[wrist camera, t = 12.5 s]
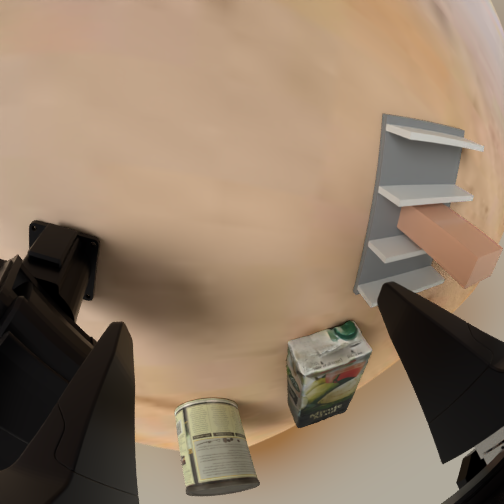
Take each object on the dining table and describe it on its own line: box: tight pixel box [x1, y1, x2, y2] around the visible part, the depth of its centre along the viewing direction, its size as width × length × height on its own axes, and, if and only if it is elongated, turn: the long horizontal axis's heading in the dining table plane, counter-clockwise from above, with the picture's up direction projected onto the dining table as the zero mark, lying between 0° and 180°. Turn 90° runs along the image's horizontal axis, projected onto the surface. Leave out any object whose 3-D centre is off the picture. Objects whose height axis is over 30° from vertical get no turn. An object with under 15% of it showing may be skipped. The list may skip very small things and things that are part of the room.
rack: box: [353, 114, 484, 308], centre depth 24 cm, size 12×19×4 cm, turn 1°
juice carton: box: [286, 321, 372, 428], centre depth 35 cm, size 20×10×6 cm, turn 6°
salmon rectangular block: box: [397, 203, 503, 289], centre depth 21 cm, size 5×3×10 cm, turn 91°
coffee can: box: [174, 398, 260, 496], centre depth 32 cm, size 10×10×14 cm
